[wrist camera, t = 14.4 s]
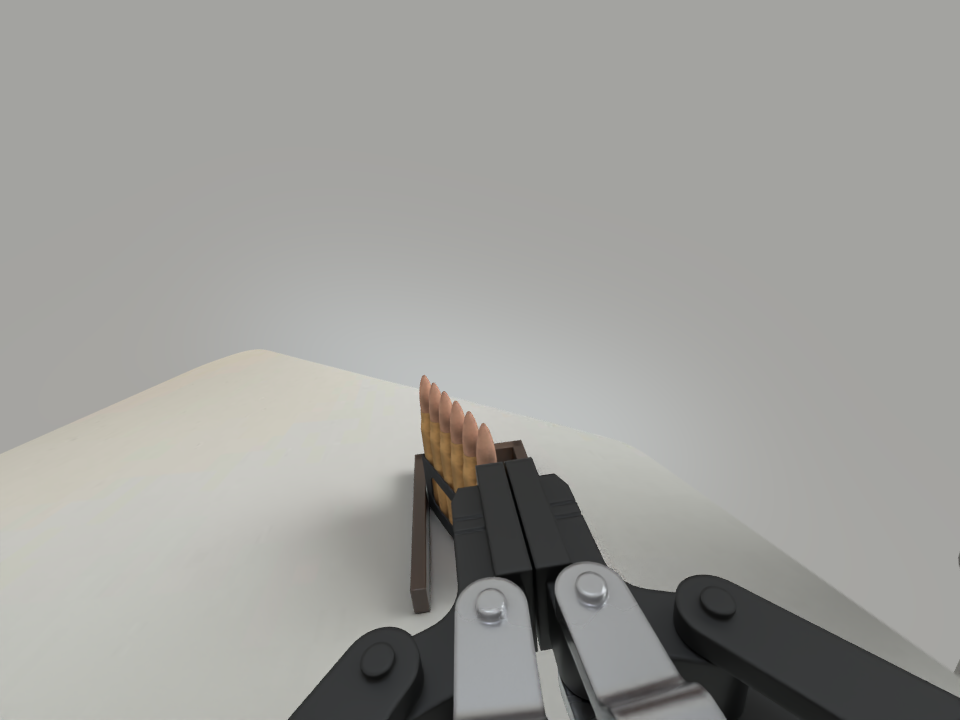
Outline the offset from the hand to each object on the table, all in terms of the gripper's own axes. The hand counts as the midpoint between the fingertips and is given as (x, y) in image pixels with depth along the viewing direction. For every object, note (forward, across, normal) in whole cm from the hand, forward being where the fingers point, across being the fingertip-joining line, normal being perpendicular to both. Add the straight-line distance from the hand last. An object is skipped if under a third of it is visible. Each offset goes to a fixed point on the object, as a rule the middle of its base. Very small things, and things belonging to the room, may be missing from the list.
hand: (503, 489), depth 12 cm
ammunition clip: (+17, +1, +18) cm, 24 cm away
